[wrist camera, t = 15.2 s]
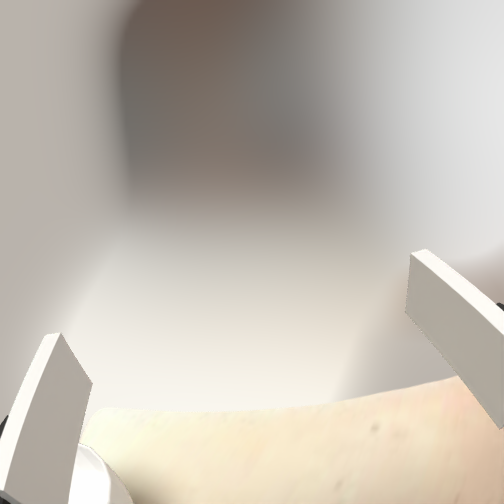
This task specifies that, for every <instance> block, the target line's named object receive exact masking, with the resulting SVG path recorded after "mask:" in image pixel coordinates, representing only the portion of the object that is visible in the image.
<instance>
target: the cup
mask: <svg viewBox="0 0 504 504" xmlns="http://www.w3.org/2000/svg"><path fill="white" fill-rule="evenodd" d="M68 504H134V503H133V501H132V499H131V497H130V494H129V492H128V490H127V488H126V486H125V485H124V483H123V482H122V481H121V480H120V478H119V477H118V476H117V474H116V473H115V472H114V471H113V470H112V469H111V468H110V467H109V466H108V465H107V463H106V462H105V461H104V460H103V459H102V458H101V457H100V456H99V455H98V454H97V453H96V452H95V451H94V450H93V449H92V448H91V447H88V446H86V445H83V444H81V443H78V448H77V453H76V458H75V464H74V469H73V475H72V481H71V488H70V494H69V501H68Z"/></svg>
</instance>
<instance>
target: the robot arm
mask: <svg viewBox="0 0 504 504" xmlns="http://www.w3.org/2000/svg"><path fill="white" fill-rule="evenodd" d="M405 313H406V314H407V315H408V316H409V317H410V319H411V320H412V321H413V322H414V323H415V324H416V325H417V327H418V328H419V329H420V330H421V331H422V332H423V334H424V335H425V336H426V337H427V338H428V340H429V341H430V342H431V343H432V344H433V345H434V347H435V348H436V349H437V350H438V351H439V353H440V354H441V355H442V356H443V357H444V359H445V360H446V361H447V362H448V363H449V365H450V366H451V367H452V368H453V370H454V371H455V372H456V373H457V375H458V376H459V377H460V378H461V380H462V381H463V382H464V383H465V385H466V386H467V387H468V388H469V390H470V391H471V392H472V394H473V395H474V396H475V397H476V399H477V400H478V401H479V403H480V404H481V405H482V407H483V408H484V409H485V411H486V412H487V413H488V415H489V416H490V417H491V419H492V420H493V421H494V423H495V424H496V425H497V427H498V428H499V430H500V429H501V428H503V427H504V305H503V304H501V303H497V304H495V303H494V302H493V301H491V300H490V299H489V298H488V297H487V296H485V295H484V294H483V293H482V292H481V291H479V290H478V289H477V288H476V287H475V286H473V285H472V284H471V283H470V282H469V281H467V280H466V279H465V278H463V277H462V276H461V275H460V274H459V273H457V272H456V271H455V270H453V269H452V268H451V267H450V266H448V265H447V264H446V263H444V262H443V261H442V260H441V259H439V258H438V257H436V256H435V255H434V254H433V253H431V252H430V251H429V250H427V249H424V250H420V251H417V252H413V253H411V255H410V269H409V280H408V291H407V300H406V308H405ZM92 384H93V383H92V382H91V380H90V379H89V377H88V376H87V374H86V373H85V371H84V370H83V368H82V367H81V365H80V364H79V362H78V360H77V359H76V357H75V356H74V354H73V352H72V351H71V349H70V347H69V346H68V344H67V342H66V341H65V339H64V337H63V335H62V334H61V333H54V334H48V335H45V337H44V339H43V341H42V343H41V345H40V347H39V349H38V351H37V353H36V355H35V357H34V359H33V361H32V364H31V365H30V368H29V370H28V372H27V374H26V376H25V379H24V381H23V383H22V385H21V388H20V390H19V392H18V395H17V397H16V399H15V402H14V404H13V407H12V409H11V412H10V414H9V416H8V415H7V417H6V418H5V419H4V421H3V422H2V423H1V425H0V504H68V501H69V494H70V488H71V481H72V475H73V469H74V464H75V458H76V453H77V448H78V443H79V438H80V433H81V429H82V424H83V420H84V416H85V411H86V407H87V403H88V399H89V395H90V391H91V387H92Z"/></svg>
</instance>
